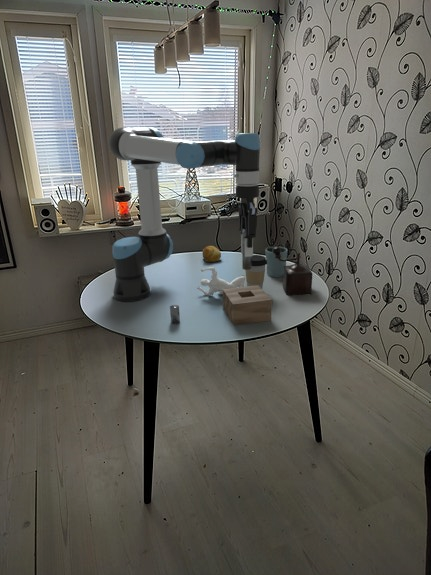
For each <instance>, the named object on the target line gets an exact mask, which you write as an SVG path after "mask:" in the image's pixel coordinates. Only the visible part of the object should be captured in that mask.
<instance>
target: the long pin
mask: <svg viewBox="0 0 431 575" xmlns="http://www.w3.org/2000/svg"><path fill="white" fill-rule="evenodd" d="M241 235H242V253H241V254H242V255H241V256H242V259H241V260H242V261H241V262H242V264H241V265H242V270H250V269H252V256H250V257H245V239H244V237H245V236H246V230H245V228H243V229H242V234H241Z"/></svg>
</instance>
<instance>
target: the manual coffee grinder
mask: <svg viewBox="0 0 431 575" xmlns="http://www.w3.org/2000/svg"><path fill="white" fill-rule="evenodd" d="M273 247H274V248H273V250H272V252H273V253H274V254H275V258H278V260H280V261H286V262H289V261H294V260H297V261H295V262H294V264H291V265H286V266H284V275H283V276H282V277H283V280H282V289H283V292H284V294H285V295H286V296H287V295H288V296H304V295H303V294H310V295H312V285H313V272H312V271H311V269H310V267H309V266H308V264H306V265H304V264H302V263H300V258H301V253H300V252H297V254H296V255H297V256H295V257H290V258H287V259H281V254H280V253H281V248H280V247H281V246H273Z"/></svg>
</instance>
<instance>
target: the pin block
mask: <svg viewBox="0 0 431 575" xmlns="http://www.w3.org/2000/svg"><path fill="white" fill-rule="evenodd" d="M272 304H273V301H272V298H271V297H270V296H269V295H268V294H267V293H266V292H265V290H263V288H262V289H261V288H260V287H259V286H258V285H256V286H243V287H239V286H238V287H237V288H230V289H223V294H222V310H223V311H224V313H225V314H226V316H227V318H228V319H229V321H230V322H231V324H232V326H236V325H237V326H238V325H246V324H252V323H253V324H254V323H259V322H269V321H271V320H272Z"/></svg>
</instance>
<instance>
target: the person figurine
mask: <svg viewBox="0 0 431 575" xmlns="http://www.w3.org/2000/svg"><path fill="white" fill-rule="evenodd" d="M200 271H201V273H203V272H205V271H211V280H209V279H207V278H203V279H201V280H200V285H201V286H203V287H207V286H208V288H209V289H208V291H207V290H205V289H203V288H202V287H201V286H198V287H197V288H196V289H197V290H199V291H201V292H202V293H203V294H204V295H206V296H207V297H208V296H213V295H214V293H219V294H222V295H223V289H230V288H239V287H245V286H244V285H245V280H246V276H243V275H242V276H238V277H236V278H234V279H233V280H232V281H231V282H229V281H227V280H225V279H223V278H220V277H218V271H217V270H216V268H215V267H214V266H210V267H205V268H200Z"/></svg>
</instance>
